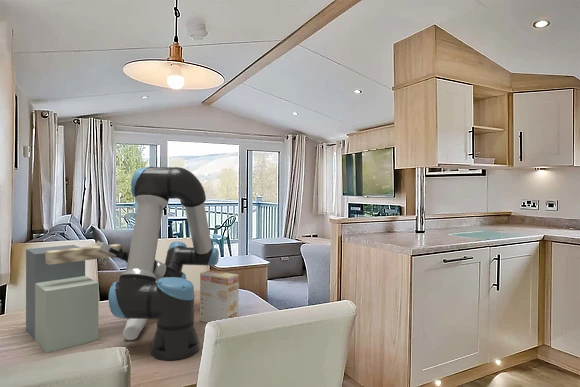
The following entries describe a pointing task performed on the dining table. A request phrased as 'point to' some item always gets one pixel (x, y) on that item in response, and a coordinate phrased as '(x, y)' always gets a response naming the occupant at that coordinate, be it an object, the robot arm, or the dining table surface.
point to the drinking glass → (133, 328)
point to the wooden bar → (77, 254)
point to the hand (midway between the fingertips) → (98, 245)
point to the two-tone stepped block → (60, 301)
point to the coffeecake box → (218, 295)
